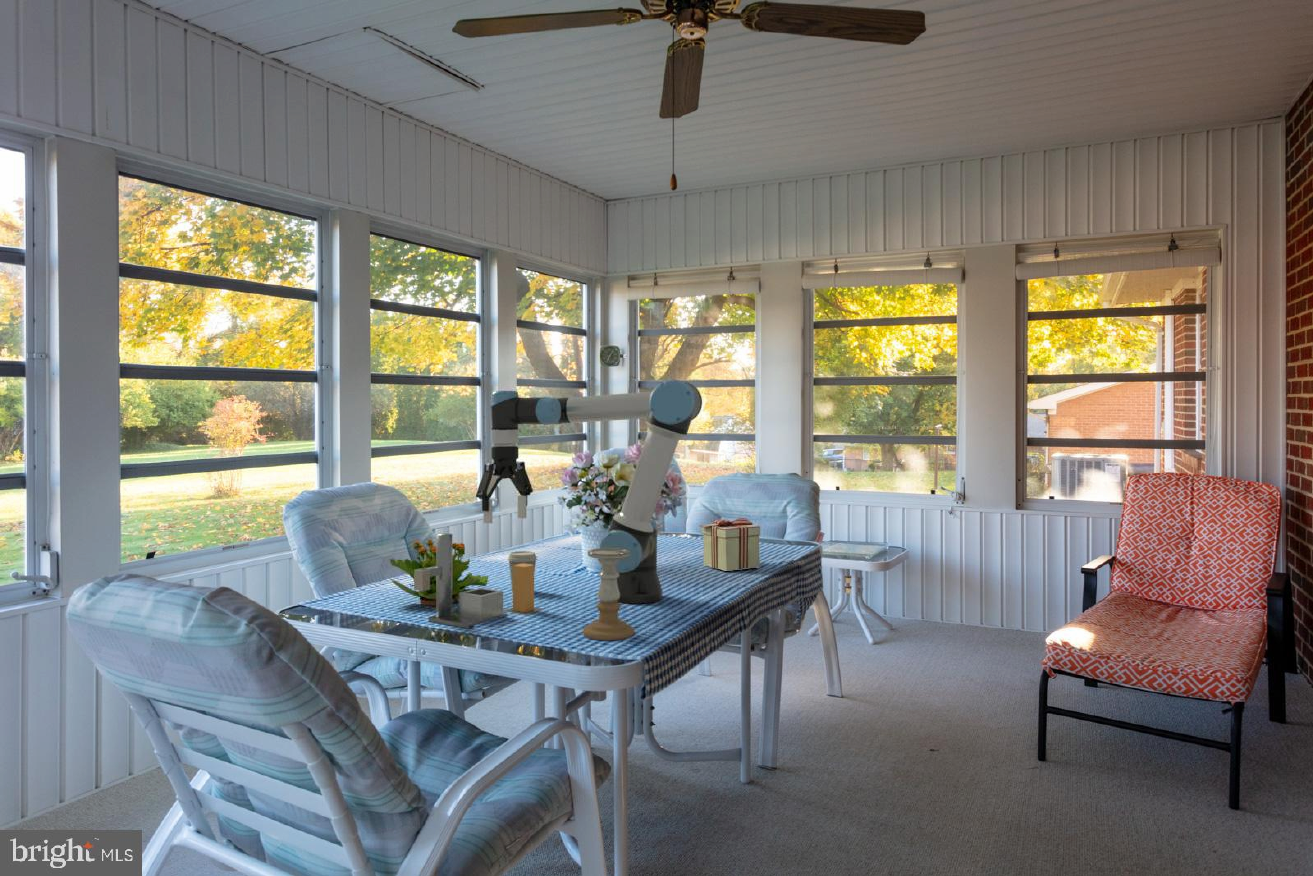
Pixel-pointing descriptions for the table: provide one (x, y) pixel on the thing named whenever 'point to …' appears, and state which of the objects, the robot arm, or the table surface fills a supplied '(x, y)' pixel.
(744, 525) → the gift box
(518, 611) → the plate
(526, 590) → the tan rectangular bar
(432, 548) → the potted flower
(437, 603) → the grey post stand
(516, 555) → the coffee cup
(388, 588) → the table surface
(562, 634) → the table surface
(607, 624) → the candle holder
